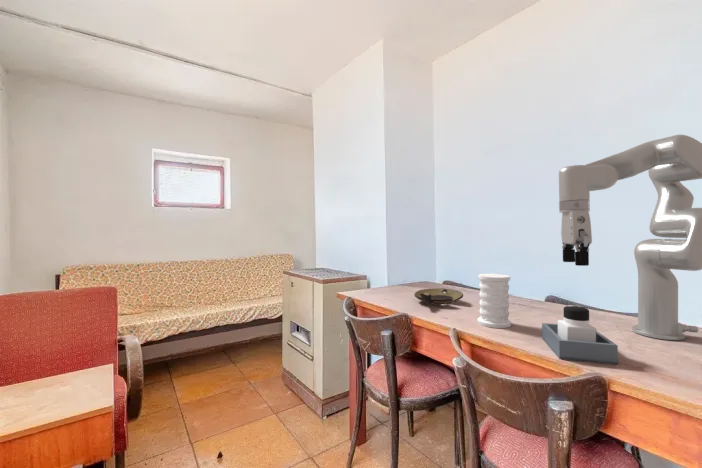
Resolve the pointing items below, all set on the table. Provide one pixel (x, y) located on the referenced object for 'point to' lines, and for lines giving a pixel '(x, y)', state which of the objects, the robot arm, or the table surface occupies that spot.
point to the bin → (580, 347)
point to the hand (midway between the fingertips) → (575, 263)
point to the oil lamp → (438, 296)
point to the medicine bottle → (576, 325)
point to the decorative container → (494, 301)
